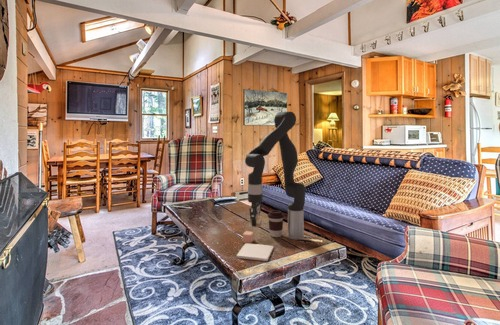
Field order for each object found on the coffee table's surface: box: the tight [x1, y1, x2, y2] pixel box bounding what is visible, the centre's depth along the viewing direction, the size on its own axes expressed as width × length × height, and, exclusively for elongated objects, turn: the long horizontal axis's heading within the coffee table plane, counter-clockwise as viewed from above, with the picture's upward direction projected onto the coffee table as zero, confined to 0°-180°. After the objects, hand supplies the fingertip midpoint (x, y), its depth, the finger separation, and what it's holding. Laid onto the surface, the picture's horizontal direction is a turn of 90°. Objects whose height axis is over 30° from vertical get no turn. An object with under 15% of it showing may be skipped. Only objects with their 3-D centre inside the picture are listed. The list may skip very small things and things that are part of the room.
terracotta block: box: [242, 230, 254, 244], centre depth 159 cm, size 5×5×5 cm
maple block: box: [248, 214, 263, 228], centre depth 142 cm, size 6×6×5 cm
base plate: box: [236, 243, 274, 262], centre depth 144 cm, size 16×16×1 cm
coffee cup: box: [267, 209, 285, 238], centre depth 167 cm, size 10×10×15 cm
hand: (255, 224), depth 142 cm, fingers closed on maple block, 5 cm apart
